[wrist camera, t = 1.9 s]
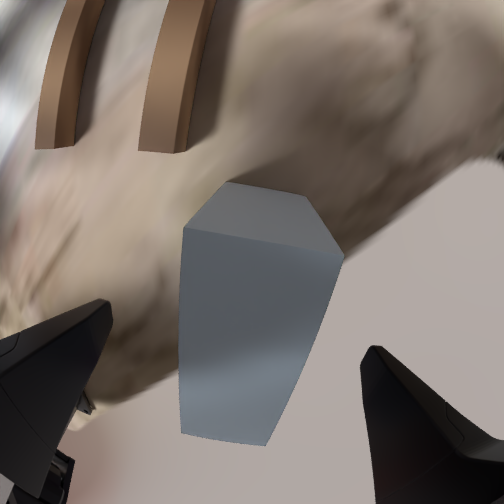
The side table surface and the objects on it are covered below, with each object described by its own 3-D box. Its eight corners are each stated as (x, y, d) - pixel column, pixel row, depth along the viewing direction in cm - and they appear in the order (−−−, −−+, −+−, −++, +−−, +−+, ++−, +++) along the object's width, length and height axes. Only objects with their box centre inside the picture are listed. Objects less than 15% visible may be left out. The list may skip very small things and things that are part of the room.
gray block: (267, 346, 14) (265, 446, 8) (207, 336, 14) (181, 432, 8) (305, 195, 11) (344, 255, 5) (226, 181, 11) (183, 227, 5)
